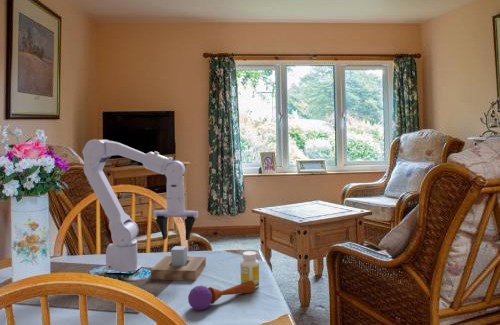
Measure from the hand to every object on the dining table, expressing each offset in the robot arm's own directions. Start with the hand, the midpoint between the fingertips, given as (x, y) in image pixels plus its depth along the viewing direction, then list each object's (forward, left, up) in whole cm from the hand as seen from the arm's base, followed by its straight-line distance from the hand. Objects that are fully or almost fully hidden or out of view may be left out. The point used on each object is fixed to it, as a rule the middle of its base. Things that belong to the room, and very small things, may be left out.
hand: (176, 239), depth 129 cm
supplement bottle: (+26, -12, -11) cm, 30 cm away
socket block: (+2, -2, -10) cm, 11 cm away
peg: (+2, -2, -10) cm, 11 cm away
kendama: (+20, -23, -11) cm, 32 cm away
